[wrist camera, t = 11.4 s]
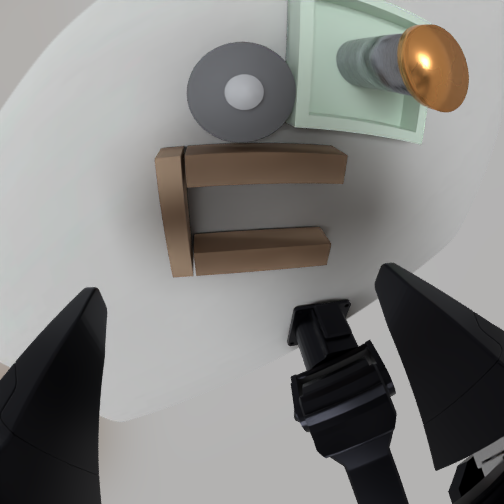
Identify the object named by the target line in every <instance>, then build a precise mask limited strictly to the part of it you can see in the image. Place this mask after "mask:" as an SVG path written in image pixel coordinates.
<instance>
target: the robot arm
mask: <svg viewBox="0 0 504 504" xmlns="http://www.w3.org/2000/svg"><path fill="white" fill-rule="evenodd" d="M375 290H376V293H377V296H378V299H379V301H380V305H381V307H382V310H383V314H384V317H385V320H386V323H387V326H388V328H389V331H390V333H391V336H392V338H393V340H394V343H395V345H396V348H397V350H398V353H399V355H400V358H401V360H402V363H403V366H404V368H405V371H406V374H407V376H408V379H409V382H410V385H411V388H412V390H413V393H414V396H415V399H416V402H417V406H418V408H419V412H420V415H421V418H422V421H423V424H424V429H425V432H426V435H427V440H428V443H429V447H430V451H431V455H432V459H433V464H434V468H435V470H436V471H437V470H439V469H442V468H444V467H446V466H449V465H451V464H453V463H456V462H457V461H460V460H462V459H464V458H466V457H468V456H469V457H468V458H467V459H466V460H464V461H463V462H462V463H460V464H459V465H458V466H457V469H456V473H455V475H454V478H453V481H452V484H451V486H450V489H449V491H448V492H449V495H450V498H451V502H452V504H504V331H503V330H502V329H500V328H498V327H497V326H495V325H494V324H492V323H490V322H489V321H487V320H486V319H484V318H483V317H481V316H480V315H478V314H477V313H475V312H473V311H472V310H470V309H469V308H467V307H466V306H464V305H462V304H461V303H459V302H458V301H456V300H455V299H453V298H452V297H450V296H449V295H447V294H445V293H444V292H442V291H440V290H439V289H437V288H435V287H434V286H432V285H431V284H429V283H427V282H426V281H424V280H422V279H420V278H419V277H417V276H415V275H414V274H412V273H410V272H409V271H407V270H405V269H404V268H402V267H400V266H398V265H397V264H395V263H385V264H383V265H382V266H381V268H380V270H379V273H378V275H377V278H376V281H375ZM350 305H351V303H350V302H349V300H343V301H336V302H330V303H323V304H316V305H309V306H301V307H297V308H295V309H294V311H293V316H292V321H291V326H290V331H289V336H288V340H287V343H288V345H289V346H294V345H299V348H300V351H301V354H302V357H303V361H304V364H305V367H306V370H307V371H305V372H303V373H300V374H298V375H293V376H291V381H292V383H291V389H292V396H293V403H294V418H295V420H296V421H298V422H300V423H301V425H302V427H303V428H304V430H305V431H306V432H310V433H311V435H312V438H313V440H314V443H315V446H316V450H317V451H318V452H319V453H320V454H321V455H322V456H323V457H325V458H328V457H331V458H332V459H334V460H335V461H337V462H338V463H340V464H341V465H343V466H344V467H345V469H346V472H347V475H348V477H349V480H350V483H351V486H352V489H353V491H354V494H355V497H356V500H357V502H358V504H409V503H408V500H407V497H406V494H405V491H404V488H403V485H402V482H401V479H400V476H399V473H398V471H397V468H396V465H395V462H394V459H393V457H392V454H391V451H390V448H389V446H390V443H391V439H392V434H393V430H394V429H395V423H396V410H395V408H394V405H393V403H392V400H391V398H390V397H391V396H393V395H394V394H396V392H395V388H394V385H393V382H392V380H391V377H390V375H389V373H388V371H387V369H386V368H385V365H384V363H383V362H382V360H381V358H380V356H379V354H378V353H377V351H376V349H375V348H374V346H373V344H372V342H371V341H370V340H368V341H367V342H365V344H363V345H361V346H359V347H358V345H357V343H356V340H355V338H354V336H353V334H352V331H351V329H350V327H349V324H348V323H347V320H346V316H347V313H348V310H349V308H350ZM106 323H107V307H106V305H105V302H104V300H103V298H102V296H101V293H100V291H99V289H98V288H96V287H87V288H84V289H83V290H82V291H81V292H80V293H79V294H78V295H77V296H76V297H75V298H74V299H73V300H72V301H71V302H70V303H69V304H68V305H67V306H66V307H65V308H64V309H63V310H62V311H61V312H60V313H59V314H58V315H57V316H56V317H55V318H54V319H53V320H52V321H51V322H50V323H49V324H48V326H47V327H46V328H45V329H44V330H43V331H42V332H41V333H40V334H39V335H38V336H37V337H36V339H35V340H34V341H33V342H32V343H31V344H30V345H29V346H28V348H27V349H26V350H25V351H24V352H23V353H22V355H21V356H20V357H19V358H18V359H17V360H16V363H14V364H13V365H12V366H11V368H10V369H9V370H8V372H7V373H6V374H5V375H4V376H3V378H2V379H1V380H0V504H101V495H100V482H99V466H98V465H99V464H98V433H99V410H100V396H101V385H102V376H103V367H104V359H105V340H106Z"/></svg>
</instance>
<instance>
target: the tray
mask: <svg viewBox="0 0 504 504" xmlns="http://www.w3.org/2000/svg"><path fill="white" fill-rule="evenodd" d="M425 24H432V23H430V22H428V21H426V20H424V19H423V18H421V17H419V16H417V15H415V14H413V13H411V12H409V11H407V10H405V9H402V8H400V7H398V6H396V5H393V4H391V3H389V2H386V1H384V0H288V16H287V47H286V63H287V65H288V66H289V68H290V70H291V72H292V74H293V77H294V80H295V86H296V97H295V103H294V106H293V109H292V111H291V113H290V115H289V117H288V118H287V120H286V121H285V122H286V123H288V124H290V125H292V126H293V127H299V128H314V129H326V130H336V131H345V132H353V133H360V134H367V135H374V136H380V137H386V138H392V139H397V140H402V141H407V142H412V143H417V144H422V139H423V133H424V128H425V121H426V115H427V107H425V106H423V105H421V104H420V103H419V102H417V101H416V100H415V99H414V98H413V96H409V95H404V94H399V93H394V92H388V91H383V90H376V89H370V88H362V87H357V86H354V85H352V84H350V83H348V82H347V81H346V80H345V79H344V78H343V77H342V75H341V74H340V72H339V70H338V67H337V63H336V56H337V52H338V49H339V48H340V46H341V45H342V44H343V43H345V42H347V41H350V40H355V39H361V38H367V37H374V36H382V35H391V34H403V33H404V31H405V30H406V29H408V28H409V27H411V26H414V25H425Z"/></svg>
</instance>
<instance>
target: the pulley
mask: <svg viewBox="0 0 504 504" xmlns="http://www.w3.org/2000/svg"><path fill="white" fill-rule="evenodd" d="M295 97H296V86H295V80H294V77H293V74H292V72H291V70H290V68H289V66H288V65H287V63H286V62H285V61H284V60H283V59H282V58H281V57H280V56H279V55H278V54H277V53H275V52H274V51H272V50H271V49H269V48H267V47H265V46H262V45H259V44H255V43H250V42H235V43H229V44H225V45H222V46H220V47H217V48H215V49H213V50H212V51H210V52H209V53H207V54H206V55H205V56H204V57H203V58H202V59H201V60H200V61H199V62H198V63H197V64H196V66H195V67H194V69H193V71H192V73H191V75H190V78H189V81H188V85H187V101H188V105H189V108H190V111H191V113H192V115H193V117H194V119H195V120H196V121H197V123H198V124H199V125H200V126H201V127H202V128H203V129H204V130H206V131H207V132H208V133H210V134H212V135H213V136H215V137H217V138H220V139H223V140H226V141H231V142H250V141H255V140H258V139H262V138H264V137H266V136H268V135H270V134H271V133H273V132H275V131H276V130H277V129H278V128H279V127H280V126H281V125H282V124H283V123H284V122H285V121H286V120H287V118H288V117H289V115H290V113H291V111H292V109H293V106H294V103H295Z"/></svg>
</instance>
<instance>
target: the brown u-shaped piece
mask: <svg viewBox="0 0 504 504" xmlns="http://www.w3.org/2000/svg"><path fill="white" fill-rule="evenodd" d="M347 157H348V155H346V154H344V153H343V152H341V151H340V150H338V149H336V148H335V147H333V146H328V145H313V144H290V143H231V144H208V145H193V146H187V149H186V153H185V161H184V146H180V147H170V148H161V149H160V151H159V153H158V154H157V156H156V157H155V167H156V175H157V184H158V192H159V199H160V206H161V213H162V219H163V226H164V232H165V238H166V243H167V249H168V255H169V260H170V265H171V270H172V275H173V277H186V276H193V257H194V260H195V268H196V276H201V275H214V274H228V273H241V272H253V271H265V270H277V269H288V268H300V267H310V266H321V265H327V261H328V256H329V252H330V248H331V243H330V241H329V240H328V238H327V237H326V235H325V234H324V232H323V231H322V229H321V228H320V227H305V228H285V229H266V230H249V231H233V232H218V233H203V234H194V255H193V247H192V238H191V229H190V220H189V210H188V199H187V188H190V187H204V186H221V185H242V184H278V183H323V184H343V182H344V176H345V170H346V164H347ZM185 169H186V175H185ZM186 182H187V188H186Z"/></svg>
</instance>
